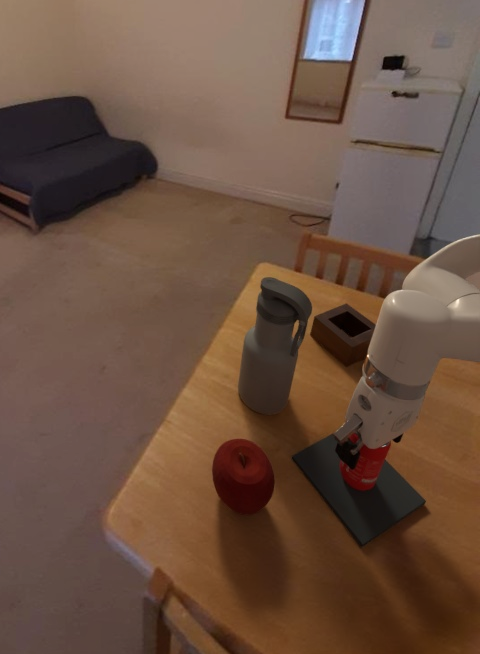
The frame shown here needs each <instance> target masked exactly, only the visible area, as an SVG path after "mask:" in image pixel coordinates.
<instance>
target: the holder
mask: <svg viewBox="0 0 480 654" xmlns="http://www.w3.org/2000/svg"><path fill="white" fill-rule="evenodd" d="M375 326H376V323H374V322H373V321H372V320H370V319H369V318H367V317H366V316H365V315H364V314H362V313H361V312H359V311H358V310H356V309H355V308H354V307H352V306H351V305H349V303H346V302H345V303H343V304H341V305H338V306H336V307H333V308H331V309H328V310H326V311H323V312H322V313H319V314H316V315H314V317H313V321H312V325H311V330H310V334H309V335H310V337H312V338H313V340H315V341H316V342H317V343H318V344H319V345H321V346H322V347H323V348H324V349H325V350H326V351H327V352H328V353H330V354H331V355H332V356H333V357H334V358H335V359H337V360H338V361H339V362H340V363H341V364H342V365H343V366H344V367H345V368H348V367H350V366H352V365H354V364H357V363H358V362H360V361H363V360H365V358H366V355H367V351H368V348H369V345H370V342H371V339H372V336H373V333H374V329H375Z"/></svg>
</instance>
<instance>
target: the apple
mask: <svg viewBox="0 0 480 654" xmlns="http://www.w3.org/2000/svg"><path fill="white" fill-rule="evenodd" d="M211 474H212V482H213V486H214V489H215V492H216V494H217V496H218V498H219V499H220V500H221V502H222V503H223V504H224V505H225V506H226V507H227V508H228V509H230V510H231V511H232V512H234V513H237V514H239V515H243V516H251V515H255V514H257V513H259V512H260V511H262V510H263V509H264V508H266V506H267V505H268V503H269V502H270V501H271V499H272V497H273V494H274V492H275V484H276V477H275V471H274V468H273V465H272V463H271V460H270V459H269V457H268V455H267V454H266V452H265V451H264V450H263V448H262V447H260V446H259V445H258V444H256V443H255V442H254V441H251V440H249V439H246V438H232V439H229V440H226V441H225V442H223V443H222V444H221V445H220V446H219V447H218V448H217V450H216V452H215V454H214V457H213V459H212V467H211Z"/></svg>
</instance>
